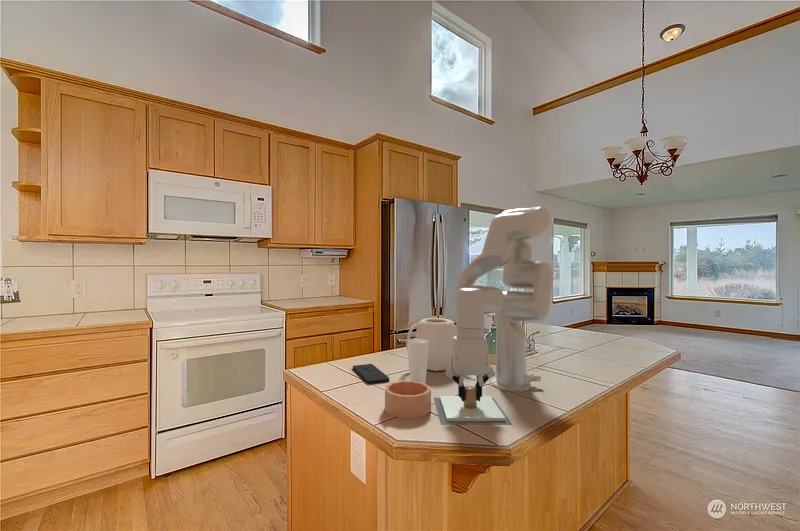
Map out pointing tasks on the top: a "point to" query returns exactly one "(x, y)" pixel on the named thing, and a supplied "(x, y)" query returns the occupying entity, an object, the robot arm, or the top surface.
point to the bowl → (407, 399)
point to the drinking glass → (418, 359)
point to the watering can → (436, 341)
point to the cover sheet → (471, 414)
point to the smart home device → (370, 374)
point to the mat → (445, 422)
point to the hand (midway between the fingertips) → (470, 398)
